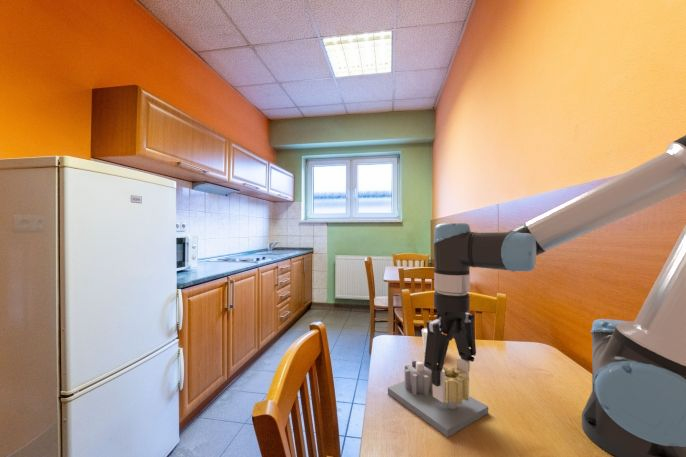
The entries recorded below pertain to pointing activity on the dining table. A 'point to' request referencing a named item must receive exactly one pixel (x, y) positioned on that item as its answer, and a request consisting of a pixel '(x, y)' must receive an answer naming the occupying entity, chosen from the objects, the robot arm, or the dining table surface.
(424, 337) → the beige cup
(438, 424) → the gear board
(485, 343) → the dining table surface
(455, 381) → the brass gear
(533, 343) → the dining table surface
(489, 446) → the dining table surface
